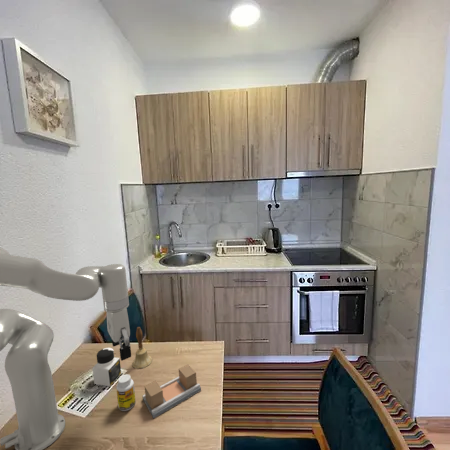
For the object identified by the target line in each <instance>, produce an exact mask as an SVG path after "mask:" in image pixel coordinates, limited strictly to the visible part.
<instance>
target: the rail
mask: <svg viewBox="0 0 450 450" xmlns="http://www.w3.org/2000/svg"><path fill="white" fill-rule="evenodd" d="M197 382H198V381H197V372H196V371H195V370H194V369H193V368H192V367H191V365H190V364H186V365H183V366H182V367H180V368H178V376H177V377H175V378H172V379H171V380H169V381H167V382H166V383H164V384H162V385H160V384H159V383H158V381H157V380H154V381H152V382H150V383H148V384H145V385H144V394H143V395H142V401H143V403H144V404H145V406H146V407H147V409H148V411H149V413H150V414H151V415H150V416H152V418H153V419H155V418H158V416H161V415H162V414H163V413H165V412H167V411H169V410H170V409H172V408H174V407H175V406H177V405H179V404H181V403H183V402H184V401H186V400H188V399H189V398H191V397H192V396H194V395H195V394H196V395H197V393H199V392H201V391H202V387H201V384H200V383H197Z"/></svg>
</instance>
